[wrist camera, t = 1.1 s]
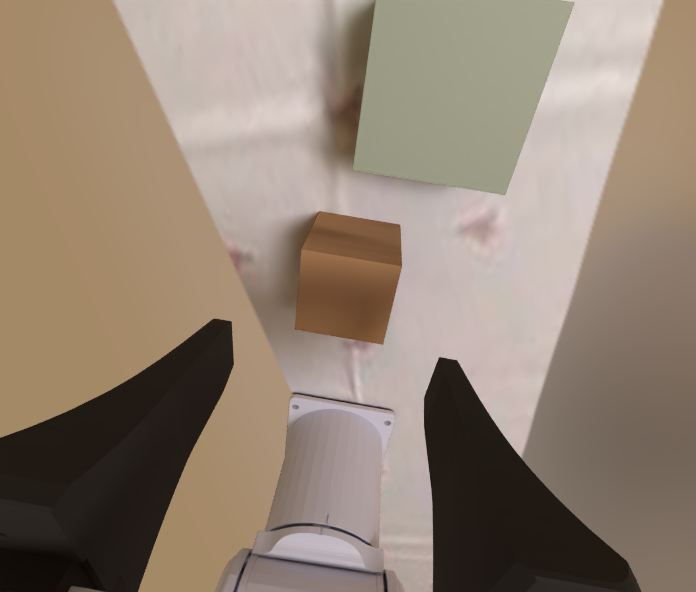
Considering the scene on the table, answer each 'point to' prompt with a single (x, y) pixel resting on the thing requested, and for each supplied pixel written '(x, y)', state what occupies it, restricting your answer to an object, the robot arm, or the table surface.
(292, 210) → the table surface
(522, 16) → the grey block
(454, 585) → the robot arm
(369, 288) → the walnut block
